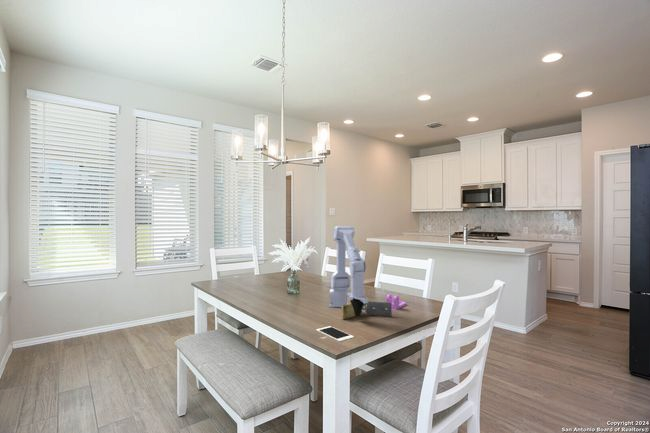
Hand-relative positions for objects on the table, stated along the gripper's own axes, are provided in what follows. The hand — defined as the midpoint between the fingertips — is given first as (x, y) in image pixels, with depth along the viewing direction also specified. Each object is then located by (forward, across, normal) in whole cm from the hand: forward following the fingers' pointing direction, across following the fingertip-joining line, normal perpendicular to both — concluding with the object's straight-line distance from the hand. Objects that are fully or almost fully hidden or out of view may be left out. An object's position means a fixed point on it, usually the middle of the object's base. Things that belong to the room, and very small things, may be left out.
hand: (357, 315), depth 149 cm
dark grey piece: (+2, -3, +13) cm, 13 cm away
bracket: (+3, -11, +32) cm, 34 cm away
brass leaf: (+2, -6, +2) cm, 6 cm away
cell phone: (+3, +10, -17) cm, 20 cm away
